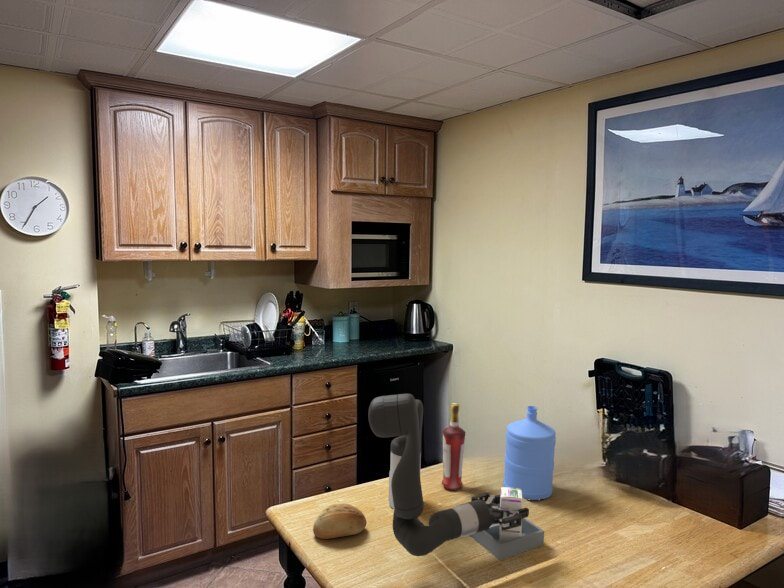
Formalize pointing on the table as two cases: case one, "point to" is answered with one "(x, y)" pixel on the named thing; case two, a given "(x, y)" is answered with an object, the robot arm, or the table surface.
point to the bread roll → (339, 521)
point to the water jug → (530, 456)
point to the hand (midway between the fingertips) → (516, 504)
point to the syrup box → (514, 502)
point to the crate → (527, 541)
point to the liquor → (453, 451)
